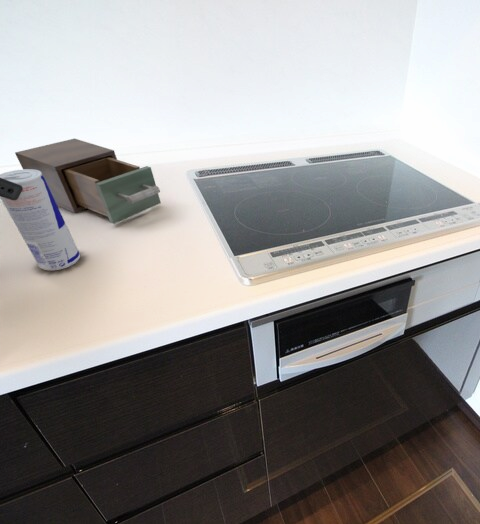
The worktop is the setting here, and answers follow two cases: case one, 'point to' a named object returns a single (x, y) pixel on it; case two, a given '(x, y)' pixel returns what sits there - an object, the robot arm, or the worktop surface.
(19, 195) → the robot arm
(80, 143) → the cabinet
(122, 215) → the drawer
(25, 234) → the beverage can
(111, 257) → the worktop surface
